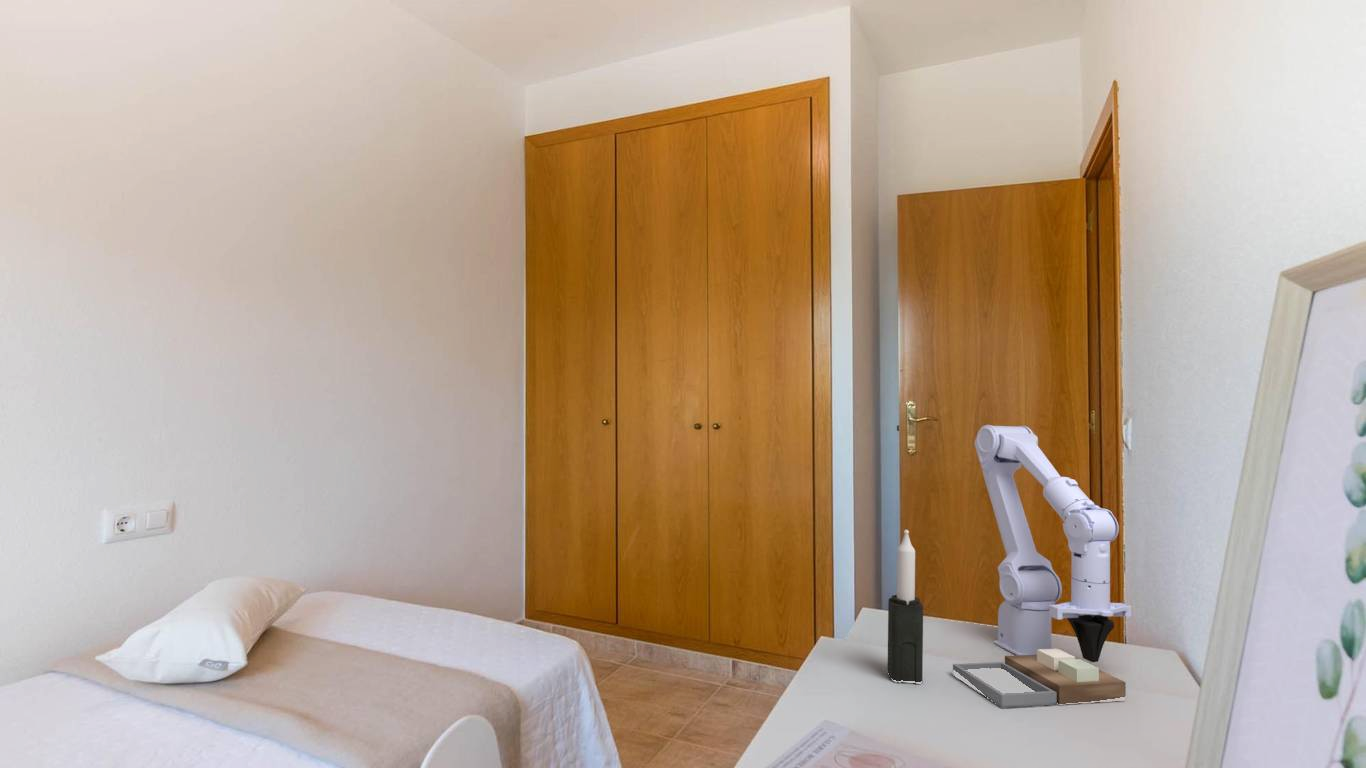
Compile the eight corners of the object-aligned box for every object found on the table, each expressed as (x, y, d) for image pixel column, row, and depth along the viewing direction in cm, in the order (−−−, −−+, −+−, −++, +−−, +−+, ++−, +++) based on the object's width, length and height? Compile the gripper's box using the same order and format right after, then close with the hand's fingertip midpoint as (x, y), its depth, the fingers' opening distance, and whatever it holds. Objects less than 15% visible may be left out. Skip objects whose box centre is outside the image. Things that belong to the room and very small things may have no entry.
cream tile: (1037, 661, 115) (1037, 649, 115) (1057, 660, 116) (1057, 648, 116) (1053, 670, 111) (1054, 657, 111) (1075, 669, 112) (1075, 656, 112)
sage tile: (1058, 672, 110) (1058, 660, 110) (1079, 671, 111) (1079, 659, 111) (1076, 682, 106) (1076, 669, 107) (1098, 680, 107) (1098, 668, 107)
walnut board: (1004, 673, 117) (1004, 655, 118) (1064, 670, 120) (1064, 653, 120) (1059, 705, 105) (1059, 685, 105) (1125, 701, 107) (1125, 682, 107)
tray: (952, 675, 116) (952, 664, 116) (1002, 673, 117) (1002, 661, 117) (1001, 708, 103) (1002, 695, 103) (1056, 705, 105) (1056, 692, 105)
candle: (916, 673, 116) (918, 527, 117) (923, 685, 111) (925, 533, 112) (886, 671, 117) (888, 526, 118) (892, 683, 112) (894, 531, 113)
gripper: (1071, 586, 110) (1071, 670, 110) (1146, 584, 113) (1146, 666, 112) (1040, 576, 117) (1040, 655, 117) (1112, 574, 120) (1112, 651, 119)
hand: (1090, 659), depth 115 cm, fingers closed
